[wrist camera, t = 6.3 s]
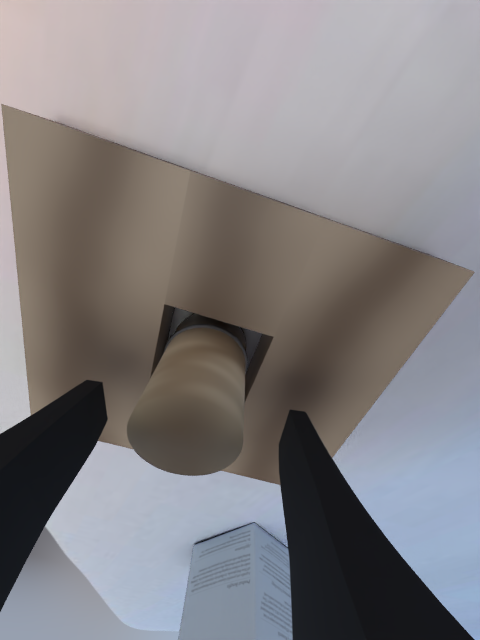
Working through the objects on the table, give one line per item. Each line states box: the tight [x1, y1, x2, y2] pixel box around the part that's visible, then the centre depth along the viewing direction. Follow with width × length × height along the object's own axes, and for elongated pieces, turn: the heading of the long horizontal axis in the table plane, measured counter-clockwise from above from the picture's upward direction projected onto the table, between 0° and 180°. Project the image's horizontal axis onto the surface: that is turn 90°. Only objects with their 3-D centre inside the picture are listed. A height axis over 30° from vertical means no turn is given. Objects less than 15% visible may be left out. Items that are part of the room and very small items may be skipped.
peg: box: [127, 313, 247, 476], centre depth 12 cm, size 4×4×7 cm
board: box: [1, 104, 474, 485], centre depth 14 cm, size 18×16×2 cm
